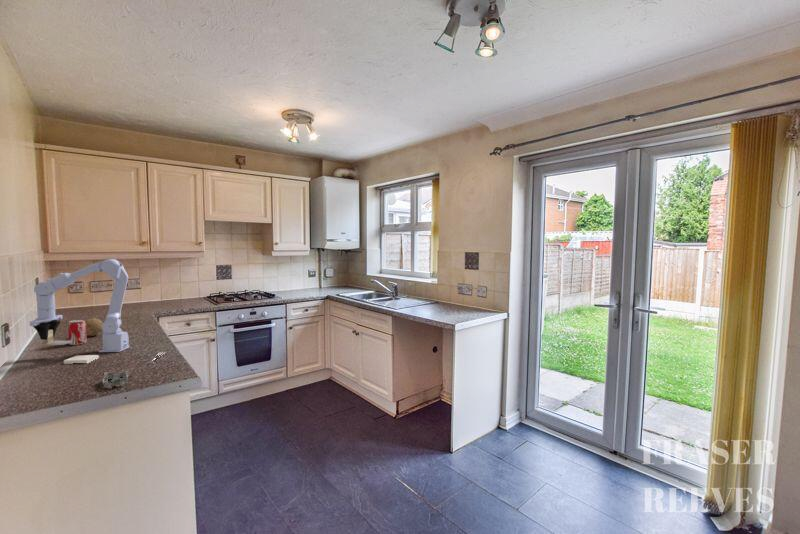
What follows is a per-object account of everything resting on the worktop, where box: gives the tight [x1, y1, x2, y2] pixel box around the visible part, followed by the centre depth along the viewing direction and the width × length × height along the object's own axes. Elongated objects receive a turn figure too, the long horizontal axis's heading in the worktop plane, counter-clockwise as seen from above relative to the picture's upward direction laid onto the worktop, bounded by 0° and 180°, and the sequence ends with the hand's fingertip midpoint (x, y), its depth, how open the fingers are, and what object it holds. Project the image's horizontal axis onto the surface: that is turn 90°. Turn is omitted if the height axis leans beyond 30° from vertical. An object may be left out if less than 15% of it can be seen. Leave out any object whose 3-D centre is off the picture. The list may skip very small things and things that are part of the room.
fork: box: [151, 351, 165, 361], centre depth 155 cm, size 3×20×2 cm, turn 15°
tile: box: [63, 354, 100, 365], centre depth 155 cm, size 2×7×9 cm
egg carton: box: [102, 370, 130, 388], centre depth 132 cm, size 11×8×4 cm
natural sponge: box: [84, 317, 104, 337], centre depth 195 cm, size 9×9×10 cm
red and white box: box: [67, 319, 88, 346], centre depth 180 cm, size 7×7×12 cm
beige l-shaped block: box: [39, 329, 72, 346], centre depth 159 cm, size 10×5×6 cm, turn 97°
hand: (47, 338), depth 159 cm, fingers closed on beige l-shaped block, 3 cm apart
